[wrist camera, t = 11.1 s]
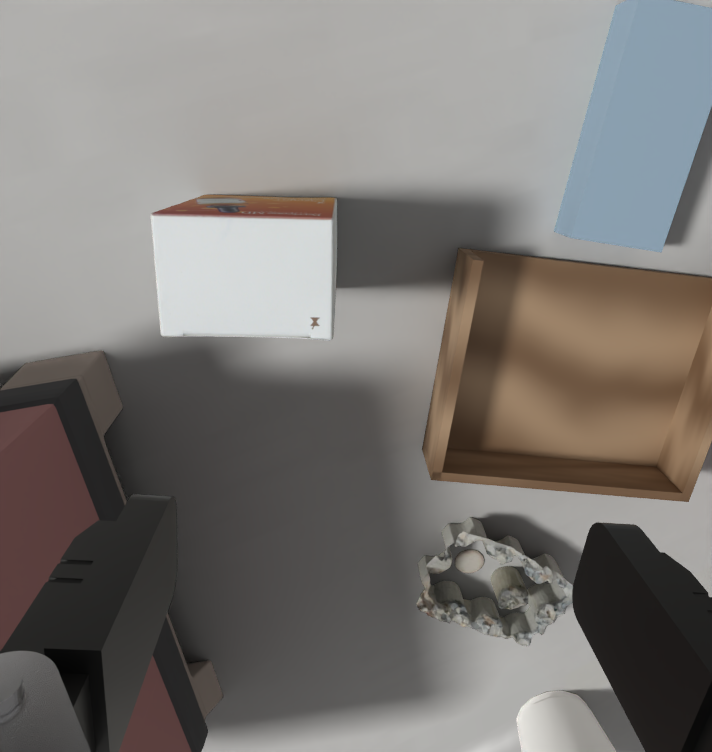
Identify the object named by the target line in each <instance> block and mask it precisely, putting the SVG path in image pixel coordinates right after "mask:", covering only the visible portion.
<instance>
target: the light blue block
mask: <svg viewBox="0 0 712 752" xmlns="http://www.w3.org/2000/svg"><path fill="white" fill-rule="evenodd" d="M711 107H712V8H709V7H704V6H699V5H694V4H689V3H684V2H679V1H675V0H626V1H624V2H622V3H620V4H618V5H616V7H615V11H614V14H613V18H612V21H611V25H610V29H609V32H608V36H607V40H606V43H605V47H604V51H603V54H602V58H601V62H600V65H599V69H598V73H597V76H596V80H595V84H594V87H593V91H592V94H591V98H590V102H589V105H588V109H587V113H586V116H585V120H584V124H583V127H582V131H581V135H580V138H579V142H578V146H577V149H576V153H575V157H574V160H573V164H572V167H571V171H570V175H569V178H568V182H567V186H566V189H565V193H564V197H563V200H562V204H561V208H560V211H559V215H558V219H557V222H556V226H555V229H554V232H556V233H559V234H562V235H564V236H567V237H570V238H574V239H581V240H587V241H593V242H599V243H606V244H612V245H618V246H624V247H631V248H637V249H643V250H649V251H656V252H662V249H663V247H664V244H665V241H666V238H667V235H668V232H669V229H670V226H671V223H672V220H673V217H674V214H675V212H676V209H677V206H678V203H679V200H680V197H681V194H682V191H683V188H684V185H685V182H686V180H687V177H688V174H689V171H690V168H691V165H692V162H693V159H694V156H695V153H696V150H697V147H698V145H699V142H700V139H701V136H702V133H703V130H704V127H705V124H706V121H707V118H708V115H709V113H710V110H711Z"/></svg>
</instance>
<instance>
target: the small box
mask: <svg viewBox="0 0 712 752" xmlns="http://www.w3.org/2000/svg"><path fill="white" fill-rule="evenodd" d="M151 227H152V239H153V251H154V263H155V274H156V286H157V297H158V309H159V320H160V331H161V335H162V336H163V337H184V336H216V337H270V338H301V339H313V340H328V341H330V340H332V339H333V334H334V318H335V299H336V276H337V199H336V198H333V197H331V198H293V197H264V196H235V195H203V196H200V197H198V198H195V199H192V200H189V201H186V202H183V203H181V204H178V205H174V206H171V207H168V208H166V209H163V210H160V211H157V212H154V213H152V214H151Z"/></svg>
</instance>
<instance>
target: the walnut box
mask: <svg viewBox="0 0 712 752" xmlns="http://www.w3.org/2000/svg"><path fill="white" fill-rule="evenodd" d="M711 442H712V277H704V276H695V275H687V274H678V273H669V272H661V271H652V270H644V269H635V268H626V267H618V266H609V265H601V264H592V263H584V262H575V261H566V260H558V259H549V258H541V257H532V256H523V255H515V254H506V253H498V252H489V251H480V250H472V249H463V248H458V254H457V259H456V265H455V271H454V276H453V282H452V287H451V293H450V298H449V304H448V309H447V315H446V320H445V326H444V331H443V337H442V343H441V348H440V354H439V359H438V365H437V370H436V376H435V381H434V387H433V392H432V398H431V403H430V409H429V415H428V420H427V426H426V431H425V437H424V442H423V448H422V450H423V454H424V457H425V461H426V464H427V468H428V471H429V475H430V478H431V480H438V481H450V482H461V483H473V484H485V485H497V486H508V487H520V488H532V489H543V490H555V491H567V492H578V493H590V494H602V495H614V496H625V497H637V498H649V499H660V500H672V501H684V502H689V499H690V497H691V494H692V492H693V489H694V486H695V484H696V481H697V478H698V476H699V473H700V471H701V468H702V465H703V463H704V460H705V458H706V455H707V452H708V450H709V447H710V444H711Z"/></svg>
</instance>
